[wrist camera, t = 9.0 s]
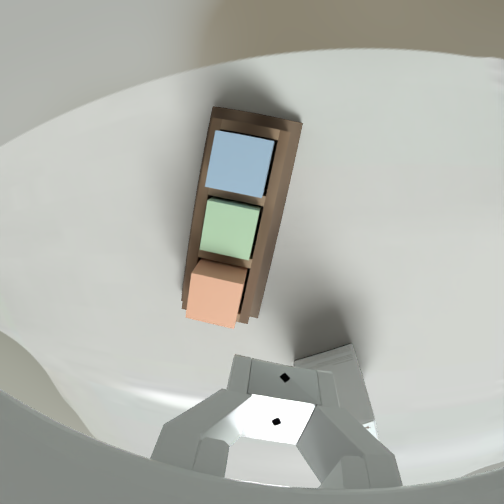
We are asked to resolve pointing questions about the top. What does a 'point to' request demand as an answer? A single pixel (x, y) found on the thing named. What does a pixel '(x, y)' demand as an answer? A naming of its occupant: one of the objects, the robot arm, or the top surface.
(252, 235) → the sage block
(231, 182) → the blue block
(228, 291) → the terracotta block
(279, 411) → the robot arm
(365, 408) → the supplement box
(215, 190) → the divided box
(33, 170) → the top surface
